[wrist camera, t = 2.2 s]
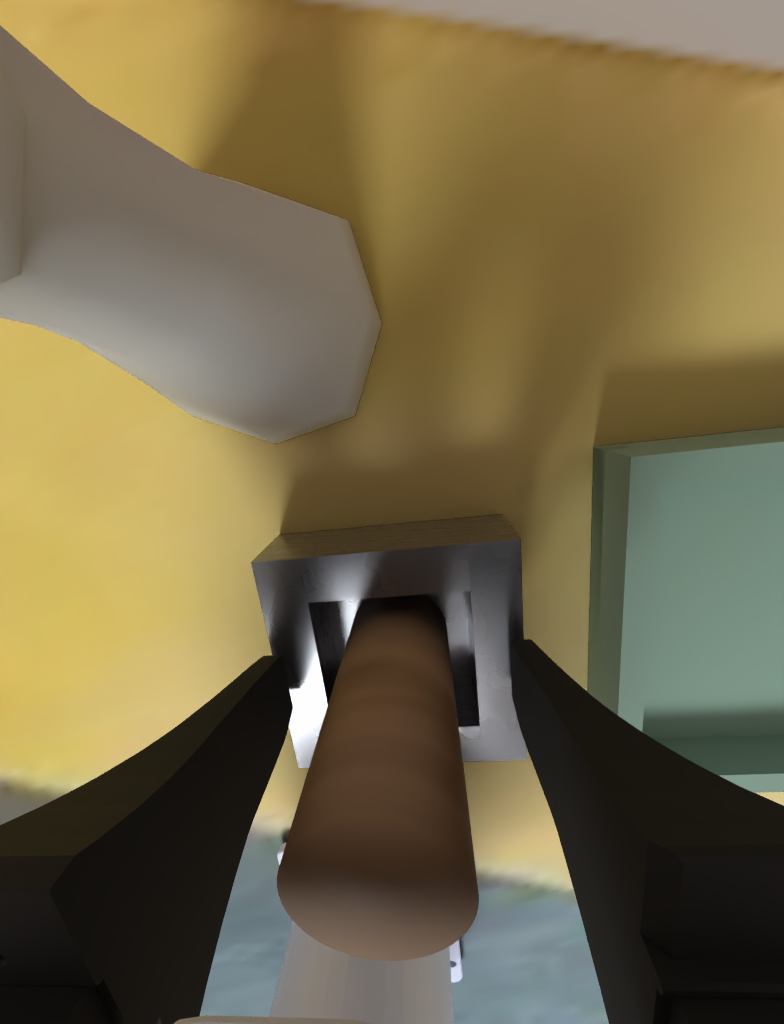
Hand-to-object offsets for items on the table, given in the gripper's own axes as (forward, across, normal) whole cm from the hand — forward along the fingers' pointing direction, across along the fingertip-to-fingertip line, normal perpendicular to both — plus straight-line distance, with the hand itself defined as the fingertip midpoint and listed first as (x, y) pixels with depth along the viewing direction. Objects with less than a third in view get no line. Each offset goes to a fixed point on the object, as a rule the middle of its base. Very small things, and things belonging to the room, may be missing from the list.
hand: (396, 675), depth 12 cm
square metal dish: (+3, 0, 0) cm, 3 cm away
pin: (+2, 0, 0) cm, 2 cm away
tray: (+3, -13, 0) cm, 13 cm away
